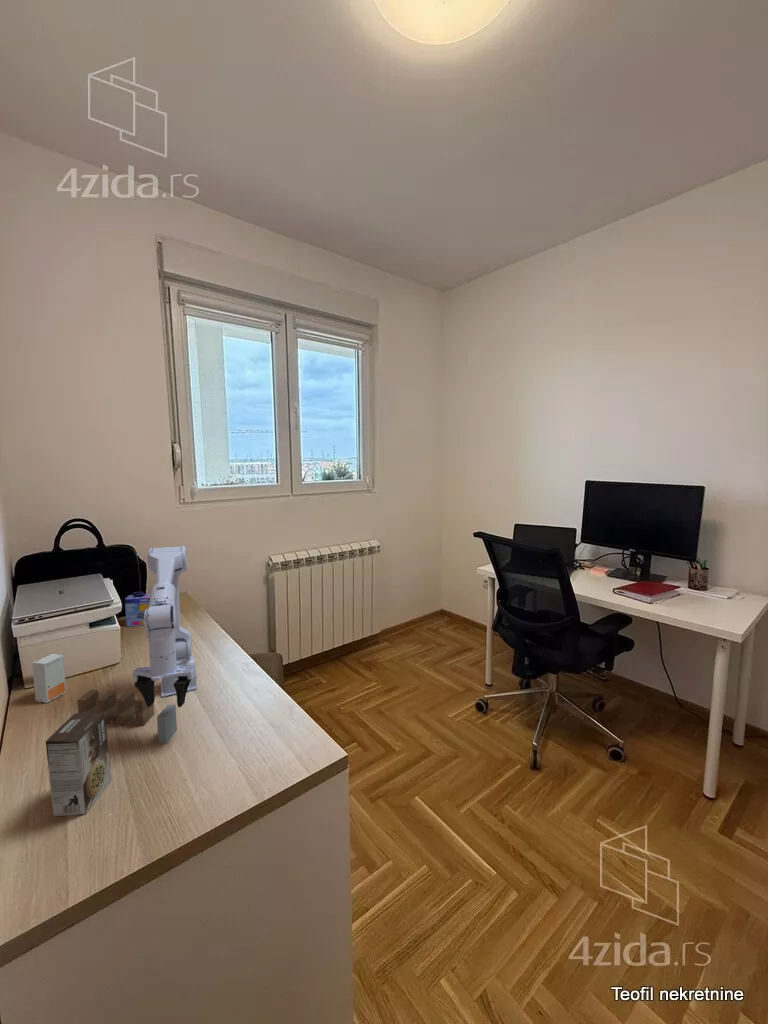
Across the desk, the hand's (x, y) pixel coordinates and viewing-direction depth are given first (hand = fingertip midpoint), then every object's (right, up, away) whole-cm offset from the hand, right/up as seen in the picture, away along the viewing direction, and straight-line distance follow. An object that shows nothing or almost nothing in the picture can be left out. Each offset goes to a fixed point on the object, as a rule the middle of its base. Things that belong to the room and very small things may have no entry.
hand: (166, 704), depth 104 cm
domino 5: (0, -9, +1) cm, 9 cm away
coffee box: (-8, -11, -18) cm, 22 cm away
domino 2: (-20, -8, +8) cm, 22 cm away
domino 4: (-10, -8, +8) cm, 14 cm away
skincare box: (-43, -6, +18) cm, 47 cm away
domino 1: (-25, -8, +8) cm, 27 cm away
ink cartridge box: (-49, 0, +73) cm, 88 cm away
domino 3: (-15, -8, +8) cm, 18 cm away
